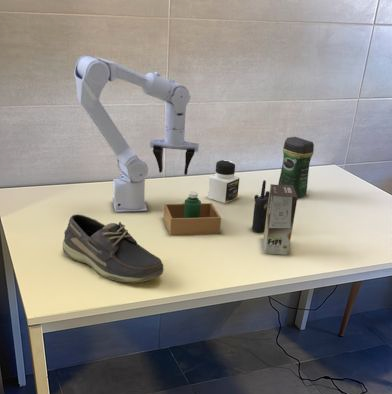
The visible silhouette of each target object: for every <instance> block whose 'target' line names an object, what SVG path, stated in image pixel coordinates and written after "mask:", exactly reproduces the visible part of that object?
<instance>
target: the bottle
mask: <svg viewBox="0 0 392 394" xmlns="http://www.w3.org/2000/svg"><path fill="white" fill-rule="evenodd" d="M201 203H202V201H201V200H200V199H199V197H198V192H197V191H189V193H188V197H187V198H186V199H184V203H183V204H184V218H200V210H201Z"/></svg>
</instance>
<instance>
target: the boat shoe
mask: <svg viewBox="0 0 392 394" xmlns="http://www.w3.org/2000/svg"><path fill="white" fill-rule="evenodd" d="M63 234H64V238H63V241H62V251H63V253H64V254H65V256H66V257H68V258H70V259H71V260H74V261H76V262H79V263H83V264H86V265H88V266H90V268H92V270H94V271H95V272H96V273H98V274H99V275H101V276H102V277H104V278H106V279H109V280H112V281H116V282H121V283H143V282H147V281H151V280H153V279H156V278H158V277H160V276H162V274H163V273H164V264H163V262H162V259H161V258H160V257H158V256H156V255H155V254H153V253H151V252H150V251H149V250H147V249H145V248H144V247H143V246H141V245H140V244H138V242H137V240H136V239H135V238H134V237H133V235H131V234H130V233H129V230H128V229H126V224H122V222H121V221H119V222H118V223H116V222H111V223H107V224H104V223H102V222H99V221H98V220H97V219H94V218H92V217H89V216H87V215H83V214H72V215H71V216H70V218H69V219H68V223H67V227H66V229H65V230H64V233H63Z"/></svg>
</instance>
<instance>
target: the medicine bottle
mask: <svg viewBox="0 0 392 394" xmlns="http://www.w3.org/2000/svg"><path fill="white" fill-rule="evenodd" d="M214 173H215V174H214V175H210V176H209V177H208V188H207V189H208V191H207V198H208V199H209V200H212V201H217V202H220V203H223V204H228V203H230V202H232V201H234V200H236V199H238V196H239V188H240V187H239V186H240V180H241V179H240V176H236V175H235V173H236V163H235V162H234V161H232V160H227V159H224V160H219V161H217V162H216V163H215V172H214Z"/></svg>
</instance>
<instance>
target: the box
mask: <svg viewBox="0 0 392 394" xmlns="http://www.w3.org/2000/svg"><path fill="white" fill-rule="evenodd" d="M184 204H185V203H164V204H163V222H164V224H165V226H166V228H167V231H168V233H169V235H170V236H181V235H183V236H184V235H213V234H214V235H215V234H217V235H219V234H221V225H222V217H221V215H220V213H219V212H218V211H217V209H216V207H215V206H214V204H213V203H212V202H203V203H202V202H201V210H200V218H184Z"/></svg>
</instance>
